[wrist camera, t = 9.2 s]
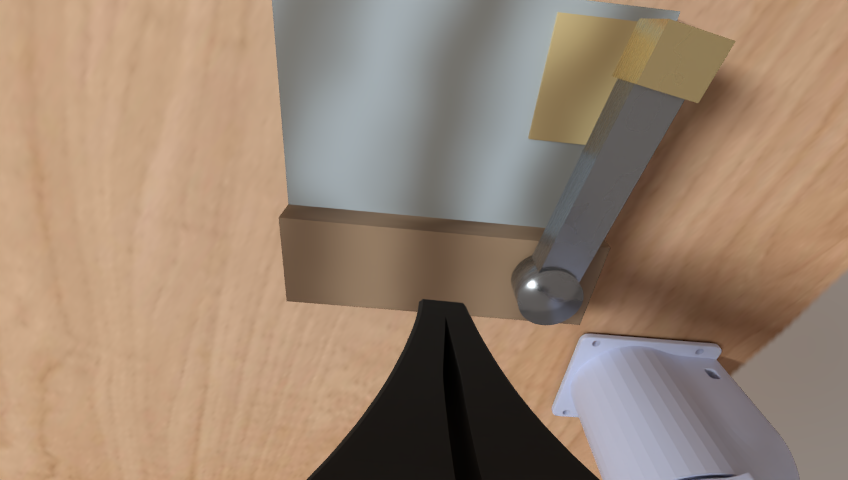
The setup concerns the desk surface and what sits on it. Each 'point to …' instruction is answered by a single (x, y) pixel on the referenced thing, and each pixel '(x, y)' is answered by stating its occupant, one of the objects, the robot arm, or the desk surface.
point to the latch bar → (615, 159)
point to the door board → (435, 141)
